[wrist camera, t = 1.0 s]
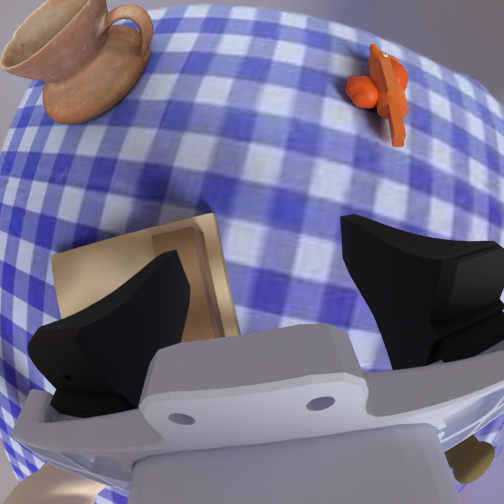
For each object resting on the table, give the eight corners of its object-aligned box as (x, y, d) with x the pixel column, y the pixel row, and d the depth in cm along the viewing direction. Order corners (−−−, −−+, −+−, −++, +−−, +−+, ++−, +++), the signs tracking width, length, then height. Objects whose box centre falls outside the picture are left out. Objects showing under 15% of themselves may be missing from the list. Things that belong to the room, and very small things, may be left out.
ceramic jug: (41, 143, 26) (-32, 102, 12) (71, 59, 26) (24, 8, 12) (160, 122, 25) (97, 34, 11) (182, 32, 26) (154, -49, 12)
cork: (409, 446, 23) (449, 494, 12) (435, 406, 23) (486, 448, 12) (438, 447, 23) (478, 487, 12) (461, 410, 23) (509, 445, 12)
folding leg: (239, 387, 22) (235, 410, 18) (203, 392, 22) (194, 414, 18) (204, 232, 22) (193, 226, 18) (168, 240, 22) (150, 236, 18)
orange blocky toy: (429, 131, 19) (401, 40, 19) (350, 129, 21) (335, 39, 22) (418, 152, 24) (398, 66, 24) (351, 150, 26) (340, 66, 27)
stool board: (254, 392, 24) (253, 425, 18) (99, 402, 24) (72, 425, 18) (216, 216, 25) (202, 202, 19) (61, 256, 25) (25, 255, 19)
